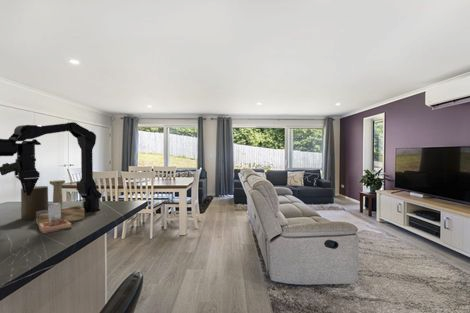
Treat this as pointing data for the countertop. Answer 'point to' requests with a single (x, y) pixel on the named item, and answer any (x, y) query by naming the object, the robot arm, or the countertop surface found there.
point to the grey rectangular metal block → (41, 213)
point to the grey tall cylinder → (54, 214)
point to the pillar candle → (34, 202)
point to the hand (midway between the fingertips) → (26, 194)
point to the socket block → (65, 214)
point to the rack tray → (45, 226)
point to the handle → (57, 191)
